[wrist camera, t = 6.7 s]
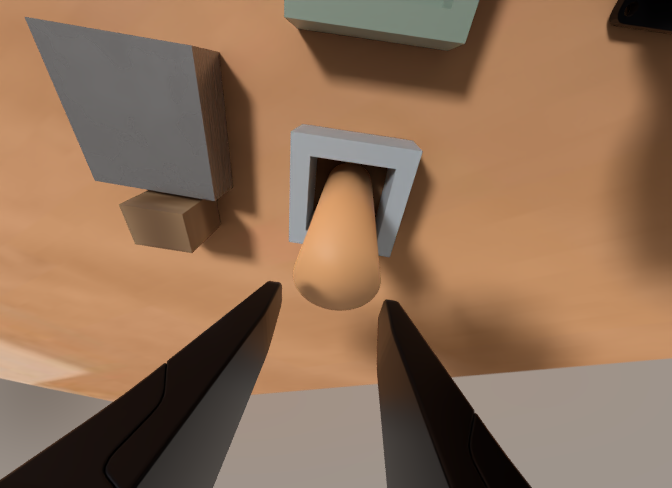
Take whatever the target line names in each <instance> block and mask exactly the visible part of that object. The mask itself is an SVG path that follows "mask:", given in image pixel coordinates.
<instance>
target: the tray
mask: <svg viewBox="0 0 672 488" xmlns="http://www.w3.org/2000/svg"><path fill="white" fill-rule="evenodd" d="M478 2H479V0H284V17H285V18H286V19H287V20H288V21H289V22H290V23H292V24H293V25H294V26H295V27H296V28H297V29H304V30H310V31H317V32H324V33H331V34H337V35H344V36H351V37H358V38H365V39H371V40H378V41H385V42H392V43H398V44H405V45H412V46H419V47H425V48H432V49H439V50H446V51H449V50H451V49H454V48H456V47H458V46H461V45H463V44H465V42H466V39H467V36H468V33H469V30H470V27H471V24H472V21H473V18H474V15H475V12H476V9H477V6H478Z"/></svg>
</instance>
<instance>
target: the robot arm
mask: <svg viewBox="0 0 672 488" xmlns="http://www.w3.org/2000/svg"><path fill="white" fill-rule="evenodd" d="M628 5H630V11H629V13H628V14H627V15H626V16H625V14H624V12H625V9H626V7H627V6H628ZM610 22H611V24H612V25H614V26H620V27H627V28H633V29H640V30H647V31H654V32H661V33H668V34H672V0H618V1H617V3H616V5H615V7H614V8H613V10H612V13H611V15H610ZM281 303H282V285H281V283H280V282H274V281H268V282H267V283H265V284H264V285H263V286H262V287H260V288H259V289H258V290H256V291H255V292H254V293H253V294H251V295H250V296H249V297H248V298H246V299H245V300H244V301H243V302H241V303H240V304H239V305H237V306H236V307H235V308H234V309H232V310H231V311H230V312H229V313H227V314H226V315H225V316H224V317H222V318H221V319H220V320H218V321H217V322H216V323H215V324H213V325H212V326H211V327H210V328H208V329H207V330H206V331H205V332H203V333H202V334H201V335H199V336H198V337H197V338H196V339H194V340H193V341H192V342H191V343H189V344H188V345H187V346H186V347H184V348H183V349H182V350H181V351H179V352H178V353H177V354H175V355H174V356H173V357H172V358H170V359H169V360H168V361H167V364H166V363H164V364H163V365H161V366H160V367H159V368H158V369H156V370H155V371H154V372H152V373H151V374H150V375H149V376H147V377H146V378H145V379H143V380H142V381H141V382H139V383H138V384H137V385H136V386H134V387H133V388H132V389H130V390H129V391H128V392H126V393H125V394H124V395H122V396H121V397H119V398H118V399H117V400H115V401H114V402H112V403H111V404H110V405H108V406H107V407H105V408H104V409H103V410H101V411H100V412H99V413H97V414H96V415H94V416H93V417H91V418H90V419H88V420H87V421H85V422H84V423H83V424H81V425H80V426H78V427H77V428H75V429H74V430H72V431H71V432H69V433H68V434H66V435H65V436H63V437H62V438H61V439H59V440H58V441H56V442H55V443H53V444H52V445H51V446H49V447H47V448H46V449H45V450H43V451H42V452H40V453H39V454H37V455H36V456H34V457H33V458H31V459H30V460H28V461H27V462H26V463H24V464H23V465H21V466H20V467H18V468H17V469H15V470H14V471H13V472H11V473H10V474H8V475H7V476H5V477H4V478H2V479H1V480H0V488H213V486H214V484H215V481H216V479H217V476H218V474H219V471H220V469H221V466H222V464H223V461H224V459H225V457H226V454H227V452H228V449H229V447H230V444H231V442H232V439H233V437H234V434H235V432H236V429H237V427H238V425H239V422H240V420H241V417H242V415H243V412H244V410H245V407H246V405H247V402H248V400H249V398H250V395H251V393H252V390H253V388H254V385H255V383H256V380H257V378H258V375H259V373H260V371H261V368H262V366H263V363H264V361H265V358H266V356H267V353H268V350H269V347H270V343H271V340H272V336H273V333H274V329H275V326H276V322H277V318H278V315H279V311H280V308H281ZM377 378H378V389H379V400H380V411H381V422H382V434H383V445H384V457H385V468H386V479H387V488H532V487H531V486H530V485H529V483H528V482H527V481H526V480H525V478H524V477H523V476H522V474H521V473H520V472H519V471H518V469H517V468H516V467H515V466H514V464H513V463H512V462H511V460H510V459H509V458H508V456H507V455H506V454H505V452H504V451H503V450H502V448H501V447H500V445H499V444H498V443H497V441H496V440H495V439H494V437H493V436H492V434H491V433H490V432H489V431H488V429H487V428H486V426H485V425H484V423H483V422H482V420H481V419H480V418H479V416H478V415H477V414H476V413H474V409H473V408H472V406H471V405H470V403H469V402H468V401H467V399H466V398H465V396H464V395H463V393H462V392H461V391H460V389H459V388H458V386H457V385H456V384H455V383H454V381H453V380H452V378H451V376H450V375H449V374H448V372H447V371H446V369H445V368H444V366H443V365H442V364H441V362H440V361H439V359H438V358H437V356H436V355H435V354H434V352H433V351H432V349H431V348H430V346H429V345H428V344H427V342H426V341H425V339H424V338H423V336H422V335H421V334H420V332H419V331H418V329H417V328H416V326H415V325H414V324H413V322H412V321H411V319H410V318H409V317H408V315H407V314H406V312H405V311H404V309H403V308H402V307H401V305H400V304H399V302H397V301H394V300H385V301H384V302H383V305H382V308H381V311H380V314H379V317H378V337H377Z"/></svg>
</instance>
